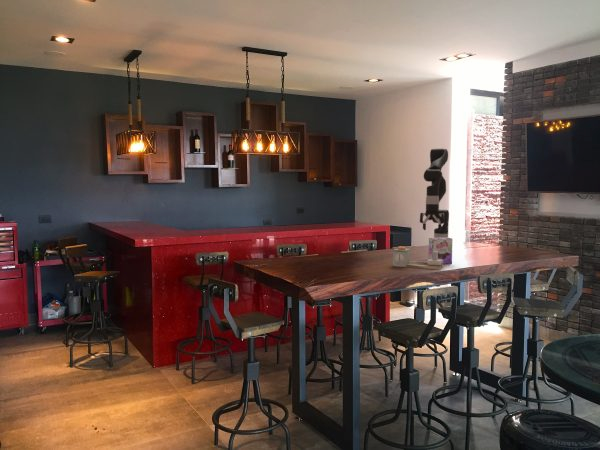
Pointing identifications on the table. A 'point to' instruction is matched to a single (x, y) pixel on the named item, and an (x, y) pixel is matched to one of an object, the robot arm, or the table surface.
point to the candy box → (441, 249)
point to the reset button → (401, 248)
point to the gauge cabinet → (401, 257)
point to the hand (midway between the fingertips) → (431, 230)
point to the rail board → (423, 265)
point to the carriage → (434, 259)
